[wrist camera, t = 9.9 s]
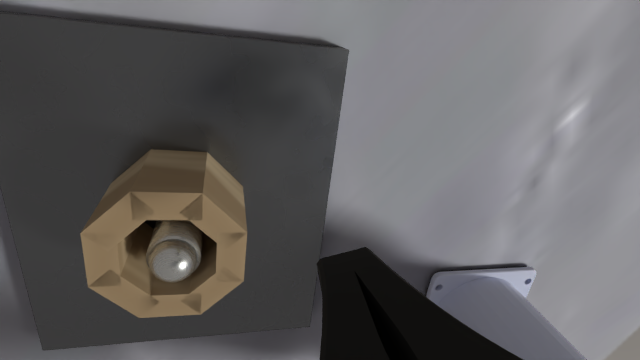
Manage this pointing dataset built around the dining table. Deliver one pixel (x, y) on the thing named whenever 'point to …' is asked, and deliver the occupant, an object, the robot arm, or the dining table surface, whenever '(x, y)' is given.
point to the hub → (163, 134)
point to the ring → (135, 235)
